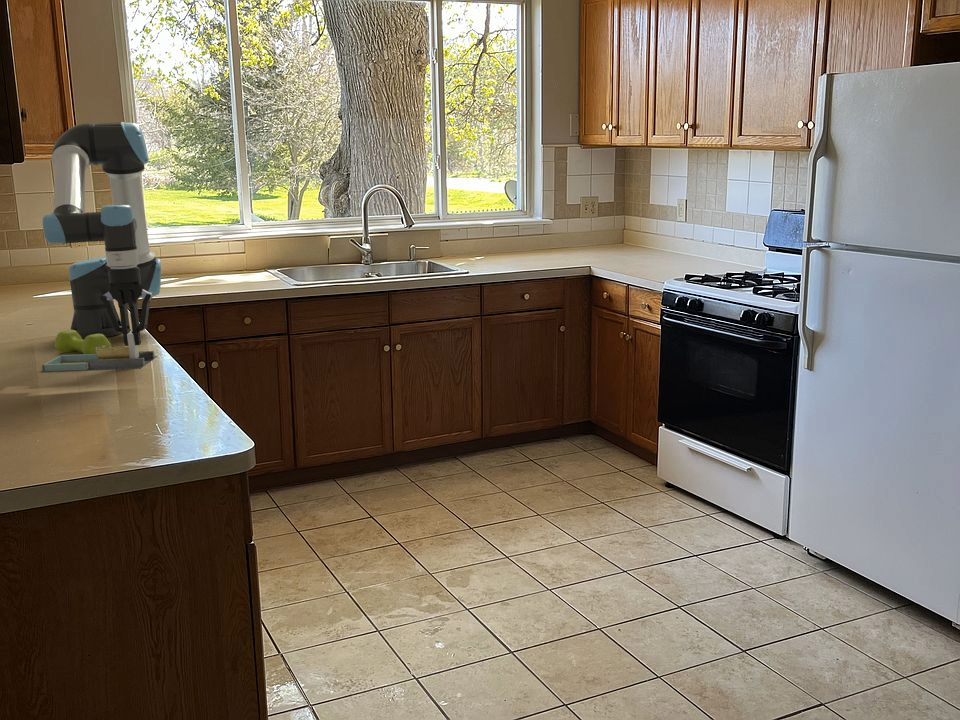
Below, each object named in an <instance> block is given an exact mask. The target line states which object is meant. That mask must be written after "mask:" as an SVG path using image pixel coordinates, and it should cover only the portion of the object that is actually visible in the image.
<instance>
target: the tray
mask: <svg viewBox="0 0 960 720" xmlns="http://www.w3.org/2000/svg"><path fill="white" fill-rule="evenodd" d="M96 359H98V358H97V354H83V353H82V354H64V355H63V354H61V355H58V356H57V357H55V358H53V359H51V360H49V361H47V362H45V363H43V364H41V367H42V368H41V369H42V372H52V371H53V372H55V371H57V372H58V371H59V372H60V371H83V370H84V371H85V370H86V369H88V362H86V361H88V360H96ZM83 361H85V362H83ZM62 362H63V363H62ZM64 362H77V363H64ZM78 362H79V363H78ZM80 362H83V363H80Z"/></svg>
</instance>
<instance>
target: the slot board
mask: <svg viewBox="0 0 960 720" xmlns="http://www.w3.org/2000/svg"><path fill="white" fill-rule="evenodd" d="M138 351H139V350H138ZM157 357H159V356H158V355H157V356H155V351H154V350H144V351H143V350H142V351H139V357H138V358H124V359H96V360H88V361H87V362H86V363H87V369H86V370H84V371H85V372H87V371H88V372H91V371H92V372H93V371H117V370H138V369H139V370H141V369H142V368H143V367H145V366H146V365H148V364H149V363H151V362H152V361H154V360H155V359H156V358H157Z"/></svg>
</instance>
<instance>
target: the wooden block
mask: <svg viewBox="0 0 960 720" xmlns="http://www.w3.org/2000/svg"><path fill="white" fill-rule="evenodd" d="M116 347H117V346H111V347H102V348H100V349H98V350H97V358H98V359H114V358H113V351H112V350H113V349H115V348H116Z"/></svg>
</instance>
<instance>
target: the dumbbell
mask: <svg viewBox="0 0 960 720" xmlns="http://www.w3.org/2000/svg"><path fill="white" fill-rule="evenodd" d="M53 346H54V348H55V350H56V352H57V353H58V354H61V353H63V354H65V353H70V352H71V353H72V352H77V351H80V352H82V355H83V354H97V350H98V349H100V348H102V347H112V345H111V342H110V341H109V340H108V337H105V336H104V335H103V334H93V335H89V336H87V337H86V338H85V339H82V338H81V336H80V335H79V334H78V333H77V332H76V331H75V330H70V329H66V330H62V331H59V332H58V333H57V334H56V337H55V341H54V344H53Z"/></svg>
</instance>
